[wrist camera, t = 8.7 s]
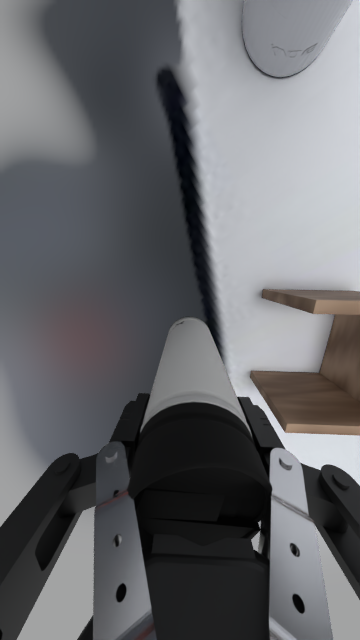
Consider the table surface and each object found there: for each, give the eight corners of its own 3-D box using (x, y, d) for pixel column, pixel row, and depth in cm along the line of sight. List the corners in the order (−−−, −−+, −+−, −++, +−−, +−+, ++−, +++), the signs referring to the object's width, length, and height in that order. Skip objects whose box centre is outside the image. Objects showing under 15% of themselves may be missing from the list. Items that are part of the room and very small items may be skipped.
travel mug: (168, 312, 24) (103, 466, 5) (213, 319, 24) (321, 498, 5) (163, 351, 26) (100, 577, 7) (205, 357, 26) (262, 599, 7)
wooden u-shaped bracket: (263, 289, 24) (316, 299, 14) (350, 290, 24) (465, 302, 14) (250, 377, 28) (285, 432, 18) (325, 379, 27) (401, 436, 18)
